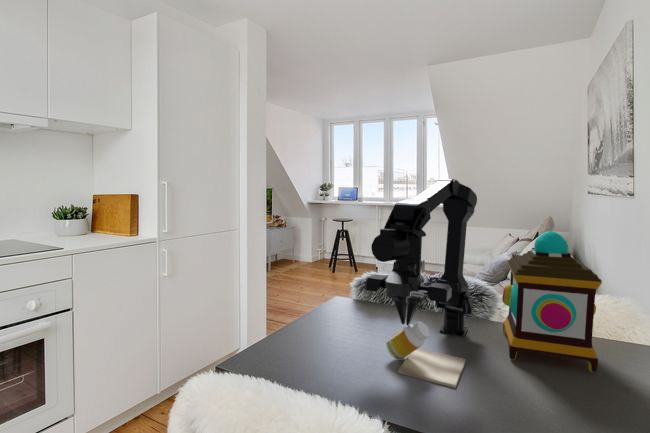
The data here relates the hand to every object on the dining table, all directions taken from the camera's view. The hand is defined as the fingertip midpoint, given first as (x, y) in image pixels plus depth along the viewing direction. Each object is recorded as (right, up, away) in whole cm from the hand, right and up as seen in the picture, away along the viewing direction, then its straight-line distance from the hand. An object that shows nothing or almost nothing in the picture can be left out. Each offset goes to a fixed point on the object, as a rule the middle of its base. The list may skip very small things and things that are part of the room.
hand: (405, 324), depth 85 cm
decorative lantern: (+36, -9, +6) cm, 37 cm away
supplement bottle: (-2, -7, +2) cm, 8 cm away
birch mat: (+6, -9, -2) cm, 11 cm away
